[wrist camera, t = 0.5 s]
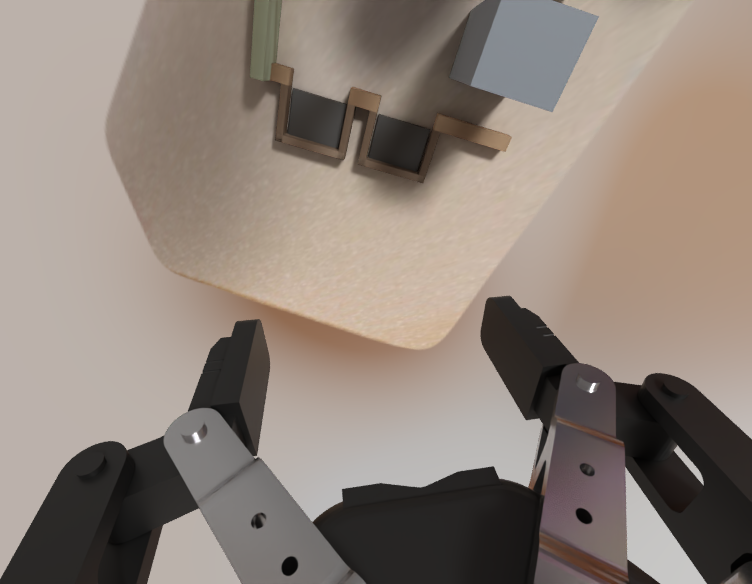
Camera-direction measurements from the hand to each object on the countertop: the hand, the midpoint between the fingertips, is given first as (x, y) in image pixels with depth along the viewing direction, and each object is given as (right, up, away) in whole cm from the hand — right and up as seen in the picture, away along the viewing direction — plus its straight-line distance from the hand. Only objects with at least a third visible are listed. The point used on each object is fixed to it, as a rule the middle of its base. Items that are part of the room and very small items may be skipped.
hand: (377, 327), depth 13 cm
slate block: (+9, +20, +16) cm, 27 cm away
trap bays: (-2, +15, +19) cm, 25 cm away
